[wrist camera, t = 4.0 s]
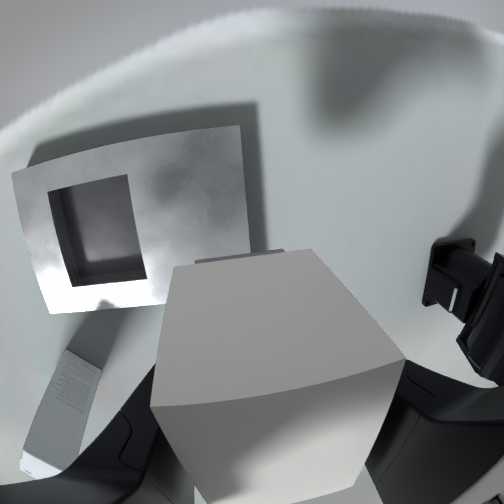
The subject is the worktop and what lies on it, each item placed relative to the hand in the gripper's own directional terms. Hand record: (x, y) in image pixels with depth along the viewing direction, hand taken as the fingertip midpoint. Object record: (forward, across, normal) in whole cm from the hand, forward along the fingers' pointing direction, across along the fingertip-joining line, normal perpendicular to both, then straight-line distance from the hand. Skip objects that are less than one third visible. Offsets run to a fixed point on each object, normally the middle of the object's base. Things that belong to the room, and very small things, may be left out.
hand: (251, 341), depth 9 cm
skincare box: (+13, +16, +13) cm, 25 cm away
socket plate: (+13, +6, -1) cm, 14 cm away
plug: (+2, 0, 0) cm, 2 cm away
